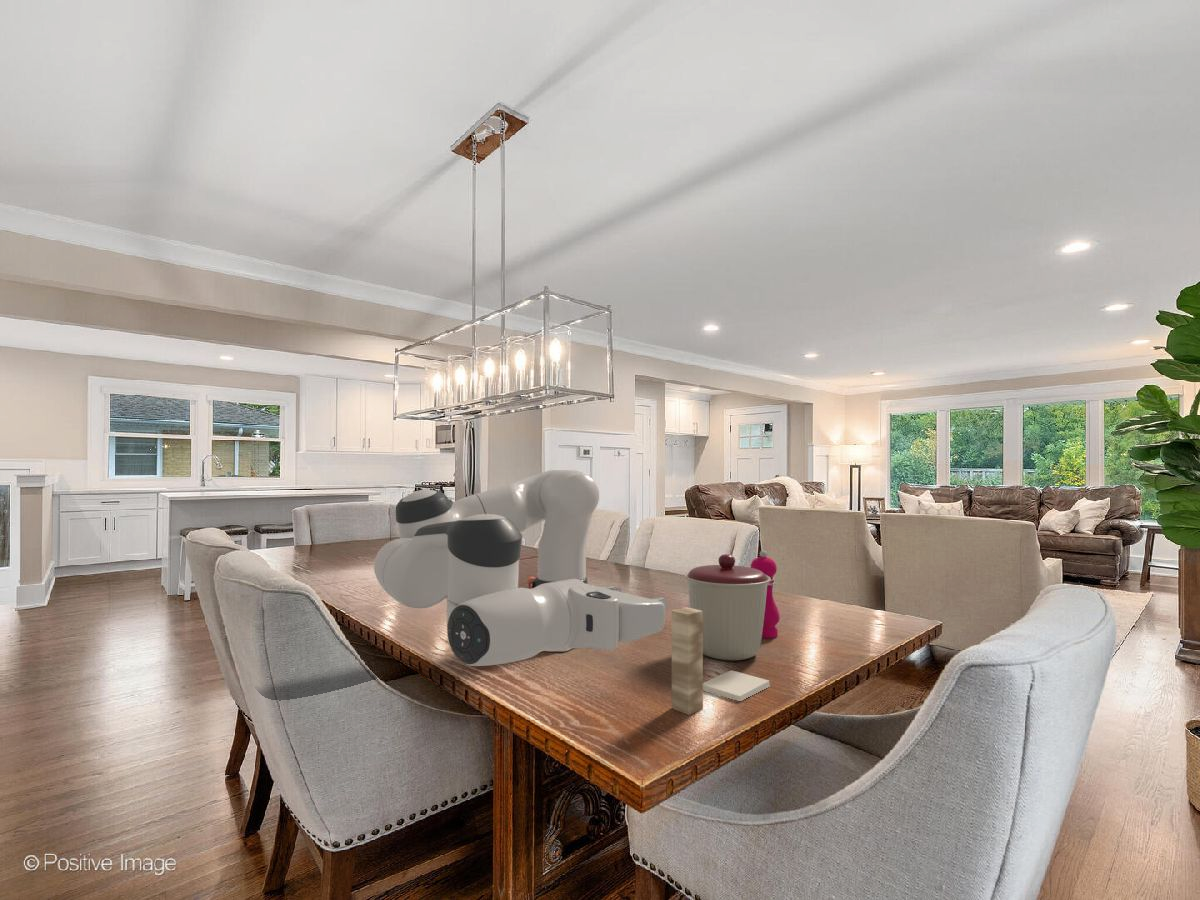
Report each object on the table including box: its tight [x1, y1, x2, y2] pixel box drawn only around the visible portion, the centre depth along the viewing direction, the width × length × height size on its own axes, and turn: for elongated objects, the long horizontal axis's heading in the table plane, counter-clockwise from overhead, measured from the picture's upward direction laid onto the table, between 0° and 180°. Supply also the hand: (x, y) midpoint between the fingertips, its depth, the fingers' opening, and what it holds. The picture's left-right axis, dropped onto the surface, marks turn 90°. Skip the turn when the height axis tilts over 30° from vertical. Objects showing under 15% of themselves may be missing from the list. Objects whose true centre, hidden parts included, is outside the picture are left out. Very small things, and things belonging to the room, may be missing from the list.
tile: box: [703, 669, 771, 702], centre depth 107 cm, size 2×8×10 cm
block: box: [671, 606, 704, 716], centre depth 98 cm, size 4×4×16 cm
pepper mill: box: [750, 550, 780, 639], centre depth 141 cm, size 7×7×20 cm
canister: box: [683, 554, 771, 661], centre depth 127 cm, size 18×18×21 cm
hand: (639, 597), depth 90 cm, fingers open, 8 cm apart
